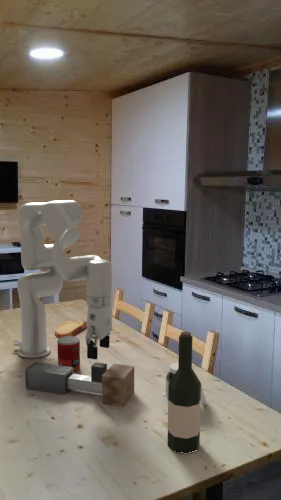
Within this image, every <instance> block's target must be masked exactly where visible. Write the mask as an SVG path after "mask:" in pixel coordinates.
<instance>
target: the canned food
mask: <svg viewBox="0 0 281 500" xmlns="http://www.w3.org/2000/svg"><path fill="white" fill-rule="evenodd" d="M80 342H81V341H80V338H79V337H77V336H65V337H61V338H57V342H56V343H57V365H59V366H66V367H73V373H75V372H79V370H80V368H81V343H80Z"/></svg>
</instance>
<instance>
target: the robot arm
mask: <svg viewBox="0 0 281 500" xmlns="http://www.w3.org/2000/svg"><path fill="white" fill-rule="evenodd" d="M16 213H17V214H16V218H17V224H18V228H19V231H20V260H21V266H22V269H24V270H26V271H29V272H31V271H34V272H32V273H26V274H23V275H21V276H20V277H18V279H17V282H16V288H17V292H18V298H19V307H20V308H19V309H20V329H21V331H20V332H21V339H14V342H13V346H14V347H19V348H18V350H17V354H18V356H20V357H22V358H26V359H37V358H41V357H42V358H43V357H45V356H47V355H49V354H50V353H51V351H52V350H51V349H52V348H51V347H50V346H49V345H47V314H46V313H47V312H46V311H47V309H46V306H45V304H44V303H43V302H42V301H41V300H40V298H42V297H48V296H54V295H55V296H56V295H57V294H59V293H61V291H62V289H63V283H64V281H67V282H77V281H82V280H83V281H84V280H86V307H87V314H86V316H87V318H86V323H87V326H86V335H85V343H86V357H87V359H90V360H95V361H96V360H97V359H98V342H99V347H100V348H105V349H109V348H110V341H111V338H110V335H111V332H112V330H113V312H112V311H113V310H112V290H113V289H112V285H113V284H112V281H113V280H112V279H113V276H112V275H113V271H112V270H113V269H112V267H113V265H112V263H111V261H109V260H108V259H103V258H102V257H101V256H99V255H97V254H89V255H77V256H70V257H69V256H68V255H67V253H66V251H65V249H67V248H69V247H70V246H71V245H73V244H74V243H75V242H76V241H77V240H78V239H79V236H80V229H79V228H78V226H77V225H78V224H79V223H81V221H82V220H83V217H84V211H83V208H82V206H81V204H80V203H79V202H78V201H76V200H73V199H72V200H71V199H69V200H68V199H67V200H66V199H65V200H51V201H48V202H43V201H41V202H27V203H24V204H22V205H20V206H19V208H18V209H17V212H16ZM42 226H46V227H47V228H48V230H49V232H50V234H51V235H52V237H53V239H54V243H49V244H45V233H44V231H43V230H42V228H41V227H42ZM42 270H47V271H42ZM35 271H38V272H35ZM39 271H40V272H39ZM63 280H64V281H63Z"/></svg>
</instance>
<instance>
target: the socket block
mask: <svg viewBox="0 0 281 500" xmlns="http://www.w3.org/2000/svg"><path fill="white" fill-rule="evenodd" d="M134 394H135V366H134V365H127V364H120V363H113V364H112V365H111V366H109V368H107V371H106V372H105V373H104V374H103V375H102V394H101V404H102V405H106V406H107V405H108V406H114V407H119V408H125V406H126V405H127V403H128V402H129V401H130V399H131V398H132V397H133V395H134Z"/></svg>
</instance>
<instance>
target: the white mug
mask: <svg viewBox="0 0 281 500" xmlns="http://www.w3.org/2000/svg"><path fill="white" fill-rule="evenodd" d="M178 365H179V361H177V362H174V363H171V364H170V365H169V371H168V372H167V373H166V377H165V396H166V400H168V384H169V383H170V381H171V379H172V378H173V376H174V374H175V373H176V371H177V370H178ZM205 395H206V394H205V392H204V390H203V385H201V406H203V407H204V406H207V405H208V403H207V399H206V396H205Z"/></svg>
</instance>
